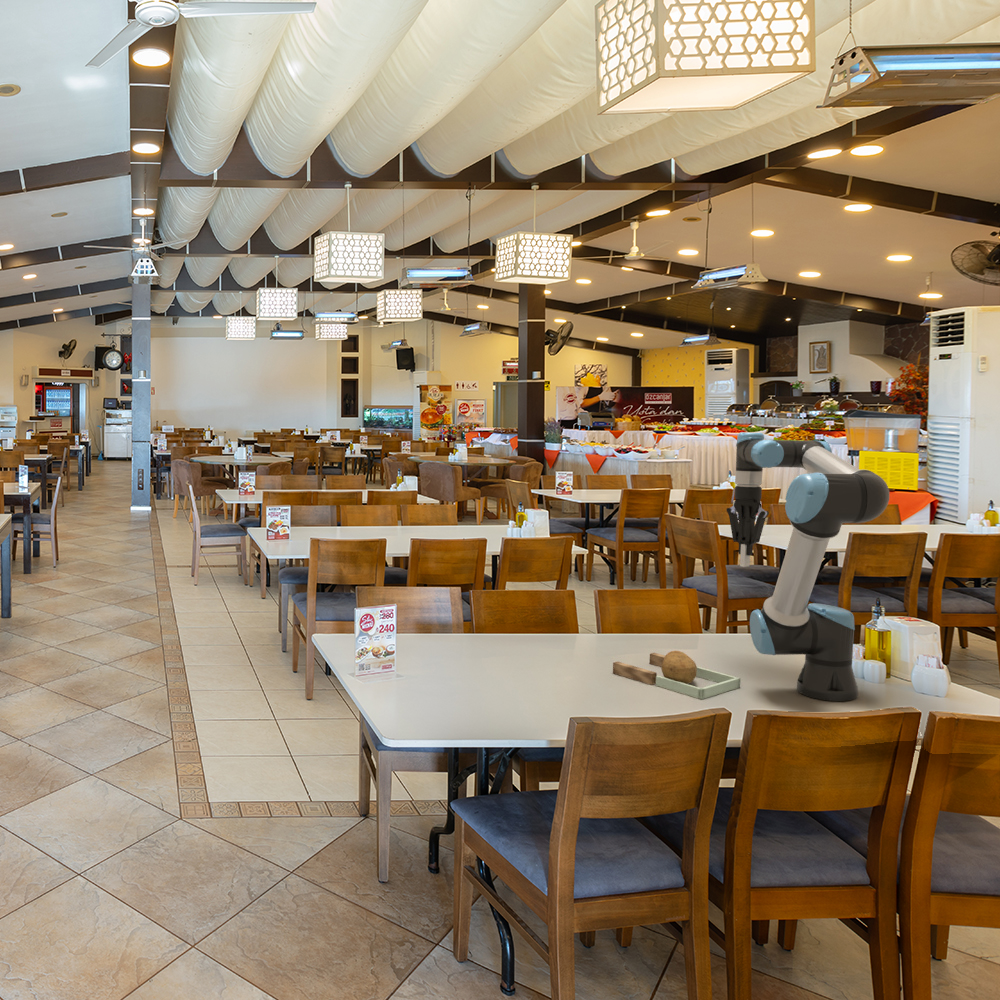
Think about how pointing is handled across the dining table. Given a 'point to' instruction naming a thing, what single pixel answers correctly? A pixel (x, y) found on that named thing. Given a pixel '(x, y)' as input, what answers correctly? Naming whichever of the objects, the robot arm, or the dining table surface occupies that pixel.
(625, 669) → the channel
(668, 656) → the potato
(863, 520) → the robot arm
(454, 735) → the dining table surface
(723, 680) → the frame
